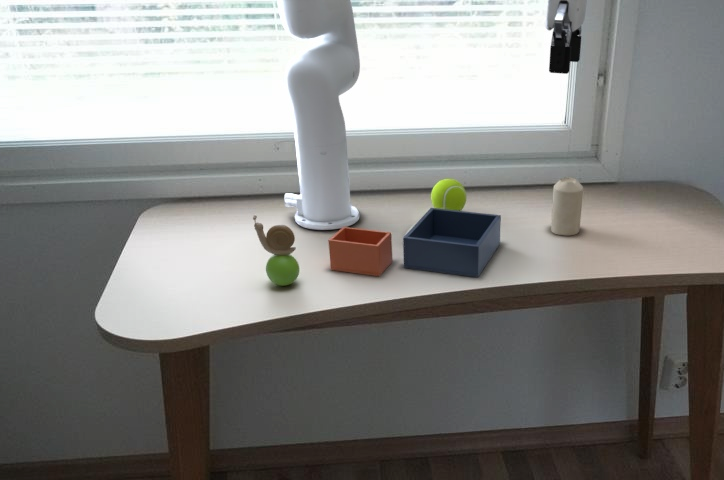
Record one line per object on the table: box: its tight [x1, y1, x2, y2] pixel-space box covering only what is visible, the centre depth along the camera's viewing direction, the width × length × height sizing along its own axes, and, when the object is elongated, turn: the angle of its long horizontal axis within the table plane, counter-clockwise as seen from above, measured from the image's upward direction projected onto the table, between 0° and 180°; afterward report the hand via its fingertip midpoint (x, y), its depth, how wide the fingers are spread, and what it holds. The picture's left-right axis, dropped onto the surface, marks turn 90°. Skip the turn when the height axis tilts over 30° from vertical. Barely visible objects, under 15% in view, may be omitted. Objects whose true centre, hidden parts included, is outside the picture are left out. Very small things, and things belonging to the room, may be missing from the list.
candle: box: [550, 176, 584, 236], centre depth 157 cm, size 6×6×10 cm
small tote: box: [327, 226, 393, 277], centre depth 144 cm, size 9×6×6 cm
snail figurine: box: [252, 214, 300, 287], centre depth 136 cm, size 5×6×12 cm
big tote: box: [402, 207, 502, 278], centre depth 148 cm, size 13×15×6 cm
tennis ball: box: [430, 178, 467, 211], centre depth 165 cm, size 7×7×7 cm
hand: (564, 66), depth 137 cm, fingers open, 9 cm apart
